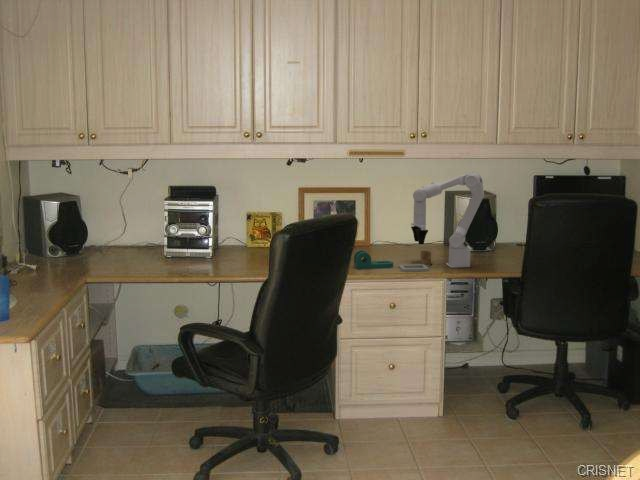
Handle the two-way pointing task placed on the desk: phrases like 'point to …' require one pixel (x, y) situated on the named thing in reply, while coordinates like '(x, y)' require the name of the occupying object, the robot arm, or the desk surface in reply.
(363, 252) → the bracket
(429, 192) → the robot arm
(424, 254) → the walnut block
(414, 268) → the slot board
